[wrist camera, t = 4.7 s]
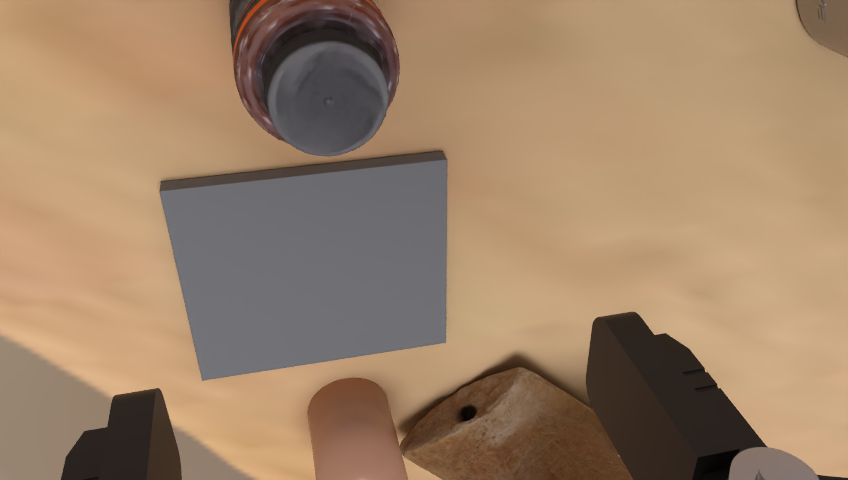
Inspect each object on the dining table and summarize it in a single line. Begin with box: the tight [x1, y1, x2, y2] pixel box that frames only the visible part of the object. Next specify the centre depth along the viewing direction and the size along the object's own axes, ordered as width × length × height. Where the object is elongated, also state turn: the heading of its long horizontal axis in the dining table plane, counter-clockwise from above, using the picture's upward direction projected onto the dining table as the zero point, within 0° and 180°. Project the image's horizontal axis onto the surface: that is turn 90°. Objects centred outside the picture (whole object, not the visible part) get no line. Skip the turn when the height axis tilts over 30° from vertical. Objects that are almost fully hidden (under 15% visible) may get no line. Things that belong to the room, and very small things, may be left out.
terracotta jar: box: [308, 378, 408, 480], centre depth 44 cm, size 5×5×7 cm
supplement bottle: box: [229, 0, 400, 156], centre depth 29 cm, size 6×6×11 cm
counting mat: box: [160, 151, 447, 381], centre depth 41 cm, size 14×12×1 cm
